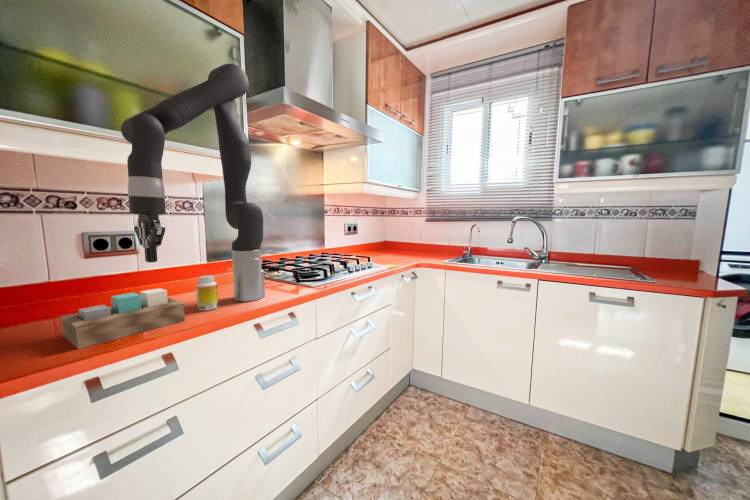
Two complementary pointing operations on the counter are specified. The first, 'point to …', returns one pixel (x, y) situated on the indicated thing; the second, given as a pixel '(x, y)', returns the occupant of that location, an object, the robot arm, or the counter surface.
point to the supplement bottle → (207, 293)
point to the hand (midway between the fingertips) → (151, 261)
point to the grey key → (94, 312)
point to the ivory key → (153, 297)
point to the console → (120, 324)
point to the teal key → (125, 302)
